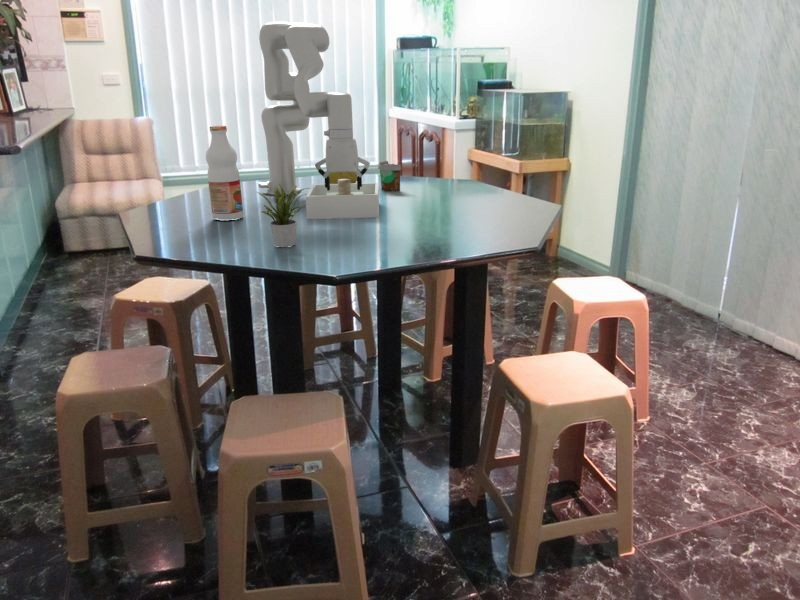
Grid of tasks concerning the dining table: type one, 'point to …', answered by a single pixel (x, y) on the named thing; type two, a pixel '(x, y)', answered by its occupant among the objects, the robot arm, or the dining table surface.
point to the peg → (344, 187)
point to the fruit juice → (223, 176)
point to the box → (342, 202)
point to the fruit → (342, 177)
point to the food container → (389, 176)
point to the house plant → (283, 218)
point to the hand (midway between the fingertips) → (343, 189)
